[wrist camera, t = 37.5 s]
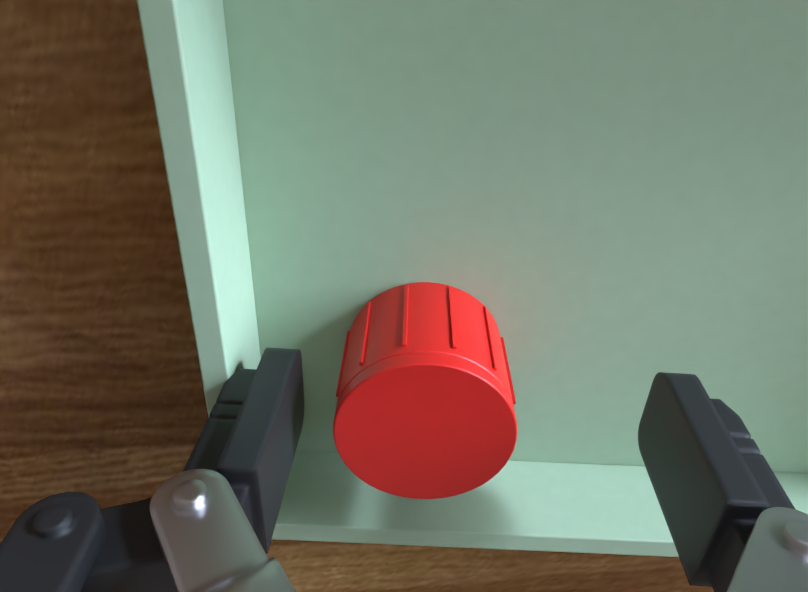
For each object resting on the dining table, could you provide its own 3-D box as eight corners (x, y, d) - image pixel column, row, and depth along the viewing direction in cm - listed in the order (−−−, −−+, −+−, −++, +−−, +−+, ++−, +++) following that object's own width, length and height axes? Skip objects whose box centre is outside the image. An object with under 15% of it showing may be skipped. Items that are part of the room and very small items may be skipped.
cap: (348, 401, 16) (334, 496, 14) (346, 277, 14) (329, 359, 12) (492, 407, 16) (506, 503, 14) (510, 284, 14) (530, 367, 12)
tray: (255, 450, 18) (228, 538, 15) (150, -391, 9) (45, -515, 6) (1047, 485, 18) (1152, 579, 15) (1727, -327, 9) (2248, -427, 6)
